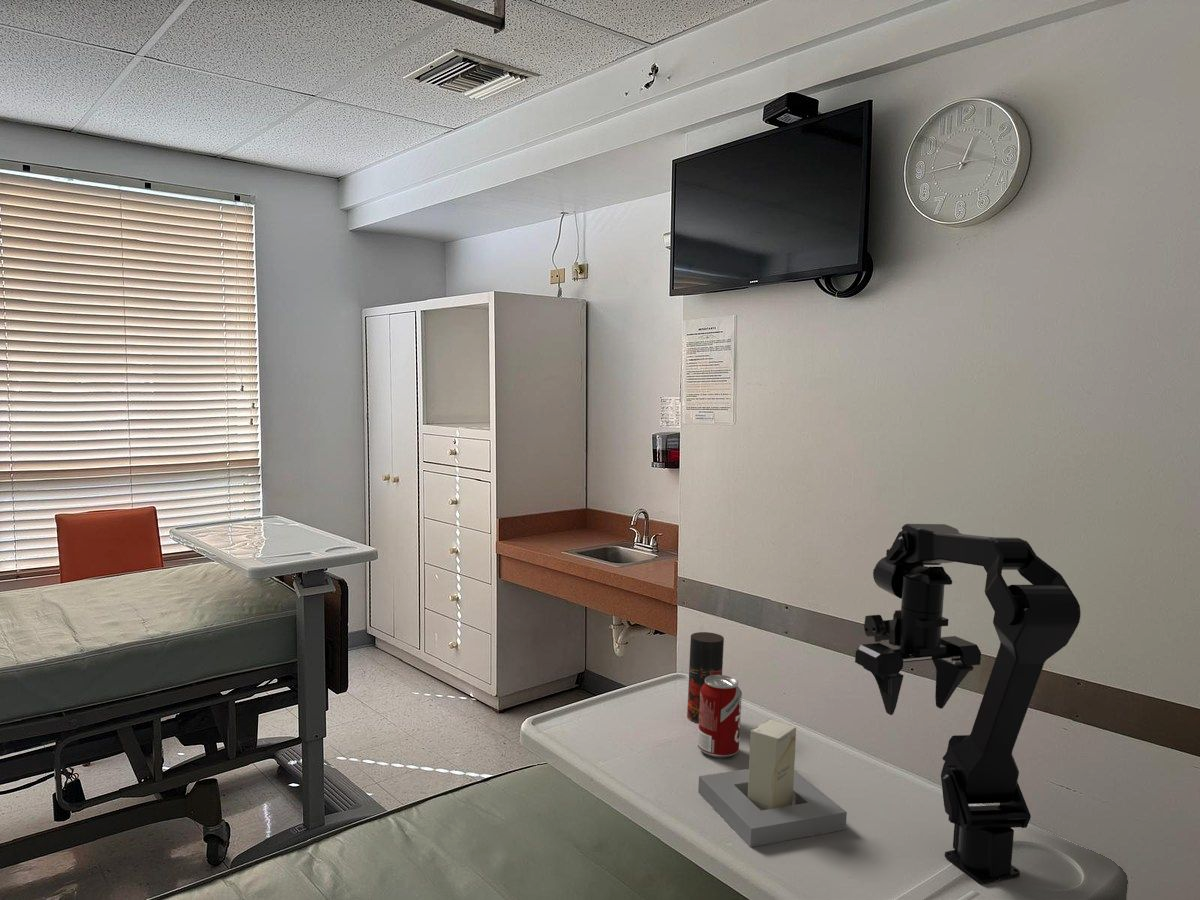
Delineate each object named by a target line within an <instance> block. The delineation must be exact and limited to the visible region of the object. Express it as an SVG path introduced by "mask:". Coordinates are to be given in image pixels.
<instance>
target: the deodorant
mask: <svg viewBox="0 0 1200 900" xmlns="http://www.w3.org/2000/svg"><path fill="white" fill-rule="evenodd" d="M689 644H690V645H689V662H688V663H689V664H688V665H689V667H688V684H687V685H688V688H687V689H688V691H687V708H686V711H687V712H686V717H687V719H688V721H690V722H693V723H695V724H697V725H699V708H700V689H701V687H702V686H703V685H704V683H705V678H706V677H708V676H711V675H723V667H724V666H723V664H724V661H723V660H724V644H725V638H724V636H723V635H721V634H718V633H715V632H714V633H713V632H707V631H706V632H705V631H700V632H693V633H692V634H691V635H690V643H689Z"/></svg>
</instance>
